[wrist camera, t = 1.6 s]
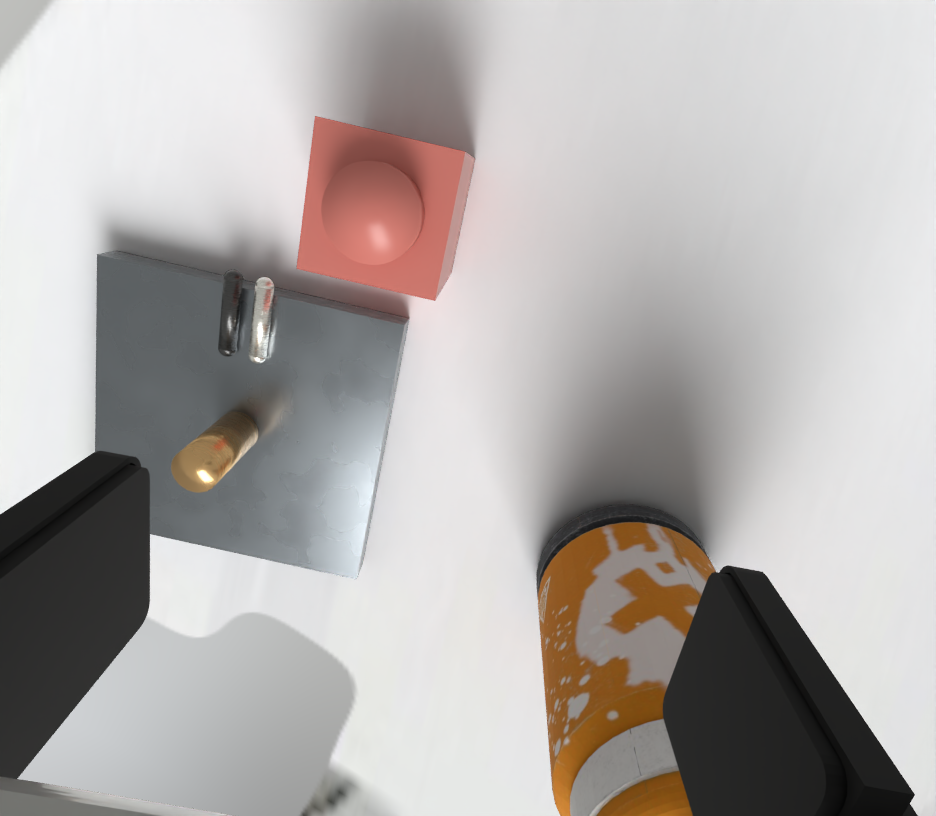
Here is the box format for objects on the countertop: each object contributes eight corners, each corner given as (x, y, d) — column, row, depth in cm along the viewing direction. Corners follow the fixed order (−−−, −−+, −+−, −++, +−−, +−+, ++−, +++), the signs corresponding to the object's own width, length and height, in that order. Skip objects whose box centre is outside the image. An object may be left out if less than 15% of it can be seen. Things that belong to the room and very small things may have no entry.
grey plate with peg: (117, 233, 29) (23, 246, 23) (412, 301, 29) (390, 330, 24) (111, 507, 34) (33, 572, 28) (362, 563, 34) (334, 638, 29)
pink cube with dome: (361, 131, 27) (303, 112, 19) (475, 158, 27) (463, 150, 19) (344, 248, 29) (285, 273, 21) (451, 273, 29) (431, 307, 21)
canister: (705, 491, 32) (995, 942, 13) (703, 664, 35) (927, 1211, 17) (529, 504, 33) (560, 948, 14) (545, 673, 36) (588, 1202, 17)
